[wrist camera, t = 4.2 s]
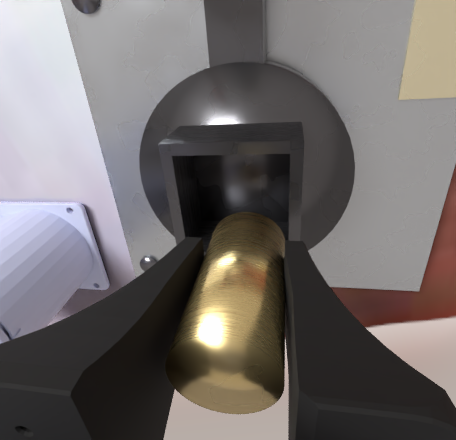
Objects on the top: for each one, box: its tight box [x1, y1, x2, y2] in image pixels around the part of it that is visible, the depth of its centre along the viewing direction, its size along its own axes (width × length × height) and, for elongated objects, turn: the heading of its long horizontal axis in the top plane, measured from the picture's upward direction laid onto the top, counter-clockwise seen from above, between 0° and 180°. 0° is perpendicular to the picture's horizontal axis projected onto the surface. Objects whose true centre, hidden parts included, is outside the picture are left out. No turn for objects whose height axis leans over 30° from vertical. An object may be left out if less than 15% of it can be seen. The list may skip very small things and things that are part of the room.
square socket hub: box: [139, 0, 355, 256], centre depth 14 cm, size 11×19×5 cm, turn 4°
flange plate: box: [61, 0, 456, 291], centre depth 19 cm, size 20×19×1 cm
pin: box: [165, 212, 285, 414], centre depth 11 cm, size 3×3×6 cm
